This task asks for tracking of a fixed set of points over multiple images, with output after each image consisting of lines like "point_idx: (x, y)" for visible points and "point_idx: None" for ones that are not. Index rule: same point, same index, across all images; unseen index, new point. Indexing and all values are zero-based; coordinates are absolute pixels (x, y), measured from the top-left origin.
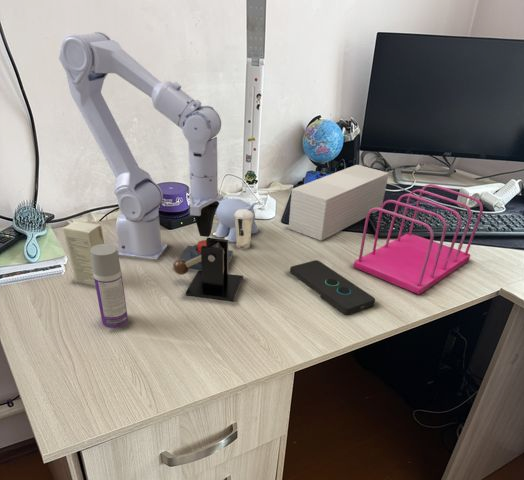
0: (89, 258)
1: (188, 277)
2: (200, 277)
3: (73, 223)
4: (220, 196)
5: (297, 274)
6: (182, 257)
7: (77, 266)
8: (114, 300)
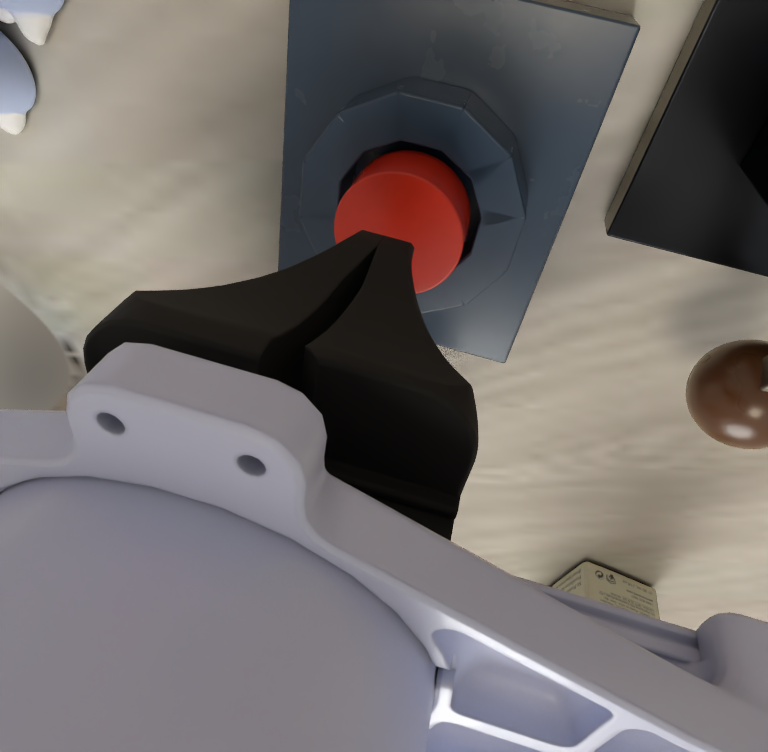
0: None
1: (624, 280)
2: (728, 224)
3: None
4: (206, 452)
5: None
6: (442, 333)
7: None
8: None
